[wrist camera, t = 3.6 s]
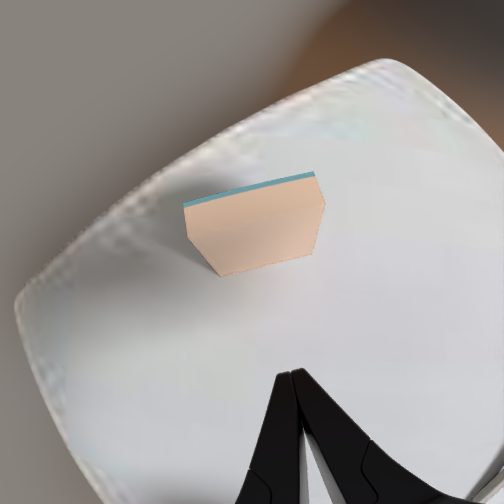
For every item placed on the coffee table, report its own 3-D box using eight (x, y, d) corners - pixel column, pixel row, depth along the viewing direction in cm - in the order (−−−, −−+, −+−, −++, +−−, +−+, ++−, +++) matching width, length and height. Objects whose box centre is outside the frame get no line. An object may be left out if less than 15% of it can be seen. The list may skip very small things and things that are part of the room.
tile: (312, 254, 22) (325, 203, 14) (220, 276, 22) (187, 237, 14) (304, 230, 22) (313, 171, 15) (215, 252, 22) (183, 202, 15)
